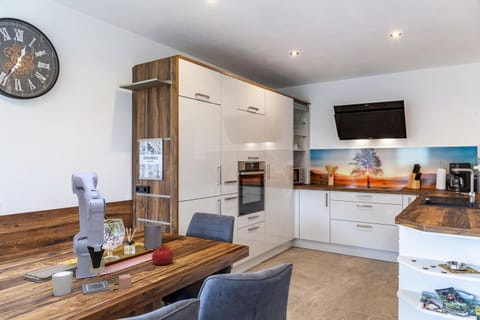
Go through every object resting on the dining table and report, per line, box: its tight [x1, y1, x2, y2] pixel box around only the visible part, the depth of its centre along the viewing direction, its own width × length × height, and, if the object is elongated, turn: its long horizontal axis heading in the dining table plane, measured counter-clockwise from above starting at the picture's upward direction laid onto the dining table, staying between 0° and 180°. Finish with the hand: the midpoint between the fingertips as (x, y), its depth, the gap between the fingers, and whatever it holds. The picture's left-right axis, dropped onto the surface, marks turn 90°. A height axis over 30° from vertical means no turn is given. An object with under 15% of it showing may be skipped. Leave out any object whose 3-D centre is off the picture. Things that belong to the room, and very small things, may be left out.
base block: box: [89, 257, 106, 274], centre depth 123 cm, size 5×5×4 cm
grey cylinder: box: [51, 271, 74, 297], centre depth 118 cm, size 7×7×7 cm
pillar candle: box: [143, 222, 163, 250], centre depth 182 cm, size 10×10×15 cm
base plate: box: [81, 280, 111, 296], centre depth 123 cm, size 10×9×1 cm
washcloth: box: [23, 263, 77, 284], centre depth 138 cm, size 12×18×3 cm, turn 154°
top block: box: [118, 273, 132, 290], centre depth 124 cm, size 4×4×4 cm
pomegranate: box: [151, 243, 174, 266], centre depth 154 cm, size 10×10×9 cm
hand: (95, 266), depth 123 cm, fingers closed on base block, 5 cm apart
